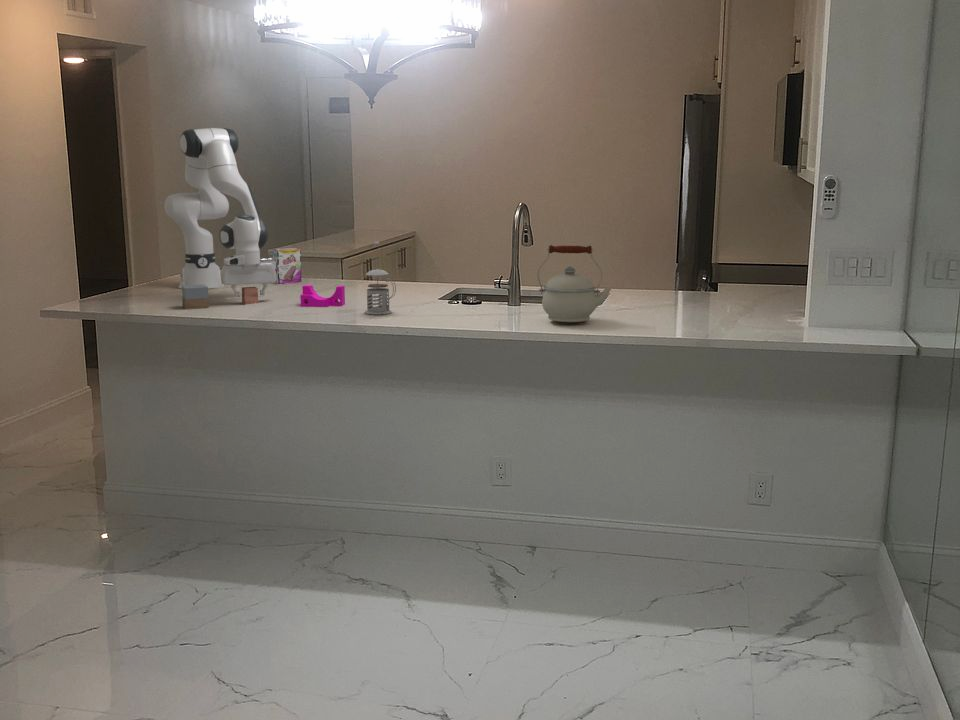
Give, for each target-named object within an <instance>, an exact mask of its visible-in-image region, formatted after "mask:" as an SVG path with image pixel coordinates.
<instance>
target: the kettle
mask: <svg viewBox="0 0 960 720" xmlns="http://www.w3.org/2000/svg"><path fill="white" fill-rule="evenodd" d="M547 251H548V253H547V257H546V259H545V260H544V261H543V262H542V263H541V265H540V266H539V268H538V270H537V271H536V272H537V273H536V274H537V281H538V284H539V286H540V288H539V289H538V292H540V294H543V296H542V298H541V299H542V300H541V305H542V308H543V310H544V312H545V313H546V314H547V319H548V320H550V321H554V322H561V323H581V322H582V323H583V322H586V321H589V320H590V316H591V315H592V313H594V311H595V310H596V309H597V308H598V307H599V306H600V305H602V304H603V302H604V301H606V300H605V299H606V298H607V296H608V295H609V294H610V292H611V290H612V287H609V286H606V287H605V288H603V291H602V292H601V290H600V289H599V287H600V285H601V283H602V279H603V270H602V268H601V267H600V266H599V264H598V263H597V261H596V260H595V259H594V258H593V251H594V248H593V246H592V245H587V246H583V245H557V246H555V245H552V244H550V245H548V247H547ZM553 253H557V254H558V253H559V254H584V253H586V254H589V255H590V257H591V260H592V261H593V263H594V264H595V265H596V267H597V268H598V269H599V272H600V274H601V277H600V281H599V284H598V285H597V287H596V286H595V285H594V284H593V282H592V280H591V279H590V278H588V277H586V276H584V275H581V274H576V272H577V271H576V270H575V268H574V267H573V266H571V265H570V266H568V267H566V268H565V269H564V270H563V272H564V273H563V274H562V273H561V274H557V275H555V276H554V275H553V276H552V277H551V278H549V279H548V280H547V282H546V284H545V285H544V286H542V283H541V281H540V276H539V273H540V270H541V268H542V266H543V265H545V263H546V262H547V261H548V259H549V257H550V254H553Z"/></svg>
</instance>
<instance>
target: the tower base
mask: <svg viewBox="0 0 960 720" xmlns="http://www.w3.org/2000/svg"><path fill="white" fill-rule="evenodd" d="M181 299H182V307H183V308H184V309H185V310H197V309H202V310H203V309H209V307H210V306H209V298H201V299H185V298H184V297H182V296H181Z"/></svg>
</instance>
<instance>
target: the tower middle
mask: <svg viewBox="0 0 960 720" xmlns="http://www.w3.org/2000/svg"><path fill="white" fill-rule="evenodd" d="M181 293H182V296H181V298H182V297H184V298H185V299H201V298H208V299H210V298H209V289H208V287H207V286H205V285H189V286H182V289H181Z"/></svg>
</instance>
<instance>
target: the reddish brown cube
mask: <svg viewBox="0 0 960 720" xmlns="http://www.w3.org/2000/svg"><path fill="white" fill-rule="evenodd" d="M258 289H259V288H258V287H256V286H245V287H241V303H242V304H243V303H244V304H243V305H245V306H246V305H253V304H254V305H255V303H256V304H259V290H258Z"/></svg>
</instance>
